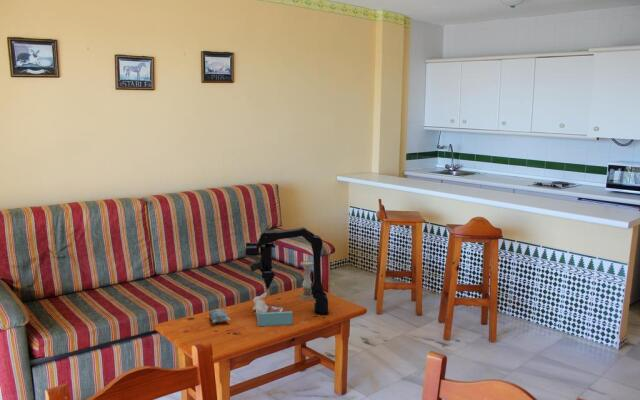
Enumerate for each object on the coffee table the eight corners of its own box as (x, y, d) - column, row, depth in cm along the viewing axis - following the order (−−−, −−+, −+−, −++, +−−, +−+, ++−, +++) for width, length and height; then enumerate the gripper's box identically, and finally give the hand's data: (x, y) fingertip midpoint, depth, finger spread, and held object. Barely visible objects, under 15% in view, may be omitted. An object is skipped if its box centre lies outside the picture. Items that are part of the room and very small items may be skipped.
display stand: (289, 316, 275) (289, 305, 274) (292, 324, 265) (292, 312, 264) (256, 318, 272) (256, 306, 272) (258, 326, 262) (258, 314, 262)
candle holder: (309, 302, 297) (309, 265, 294) (296, 299, 302) (296, 263, 299) (318, 297, 305) (318, 262, 302) (305, 295, 309) (305, 259, 306)
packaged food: (226, 315, 275) (225, 305, 274) (230, 323, 264) (229, 313, 263) (208, 317, 273) (208, 308, 272) (212, 326, 261) (211, 316, 261)
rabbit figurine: (250, 309, 285) (250, 291, 284) (264, 307, 289) (263, 289, 288) (259, 317, 275) (259, 298, 274) (273, 314, 279) (273, 296, 277)
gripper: (248, 252, 284) (249, 281, 286) (251, 261, 266) (251, 292, 268) (270, 251, 286) (270, 280, 288) (274, 260, 268) (274, 291, 270)
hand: (266, 286), depth 279 cm, fingers open, 9 cm apart
